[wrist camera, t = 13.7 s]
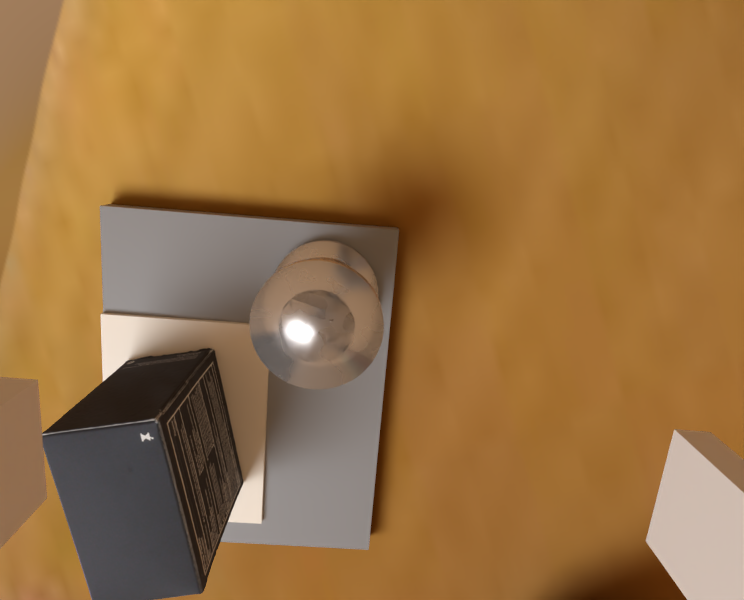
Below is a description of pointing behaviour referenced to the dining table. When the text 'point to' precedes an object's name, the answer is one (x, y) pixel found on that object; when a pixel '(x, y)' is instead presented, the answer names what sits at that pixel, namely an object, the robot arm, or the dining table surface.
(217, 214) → the board
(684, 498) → the robot arm
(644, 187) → the dining table surface
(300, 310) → the bobbin
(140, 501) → the small box
